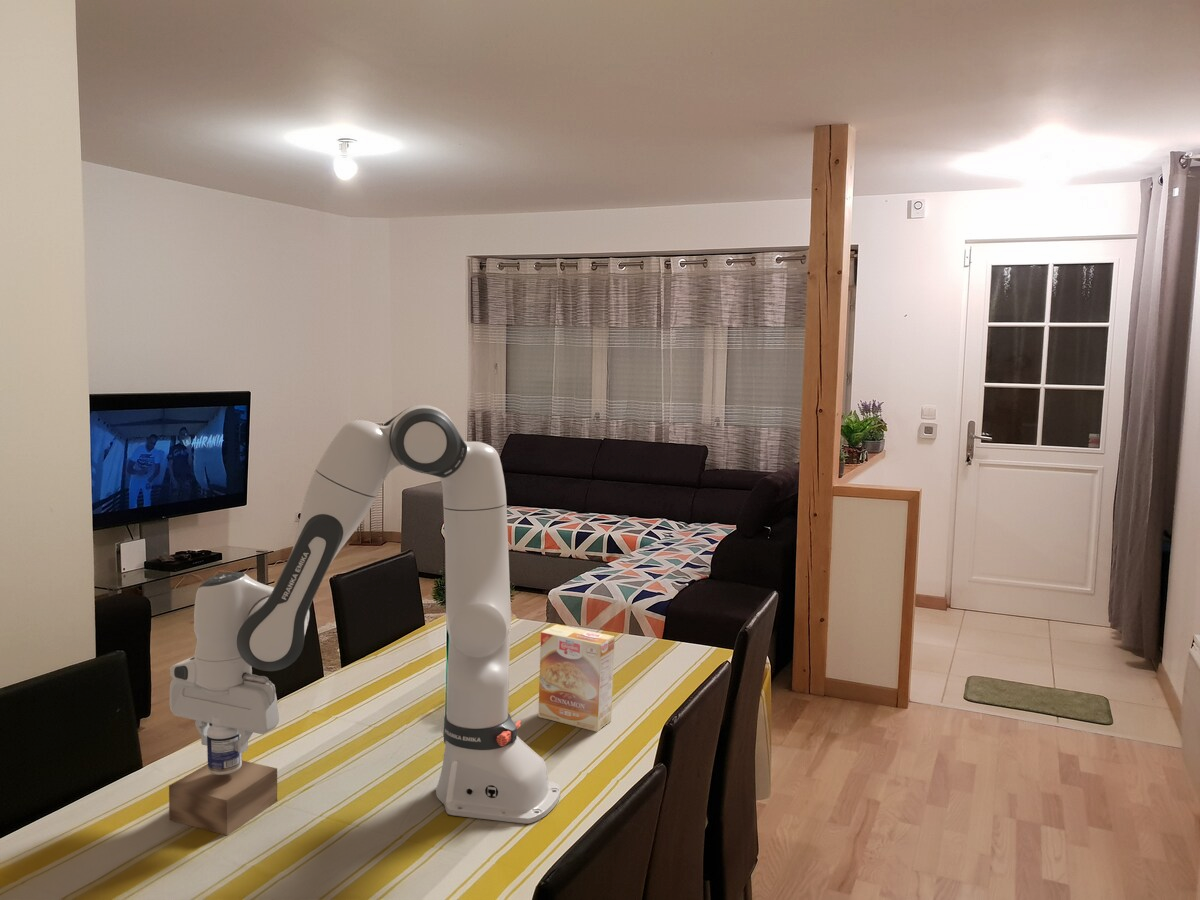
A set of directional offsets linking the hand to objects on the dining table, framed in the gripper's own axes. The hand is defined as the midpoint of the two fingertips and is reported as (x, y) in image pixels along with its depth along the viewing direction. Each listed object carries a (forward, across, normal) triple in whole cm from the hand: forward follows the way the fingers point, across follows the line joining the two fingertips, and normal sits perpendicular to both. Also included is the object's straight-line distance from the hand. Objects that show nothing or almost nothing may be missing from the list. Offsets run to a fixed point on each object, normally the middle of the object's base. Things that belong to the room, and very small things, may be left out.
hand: (224, 747), depth 149 cm
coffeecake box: (+12, -41, -60) cm, 73 cm away
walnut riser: (+11, 0, 0) cm, 11 cm away
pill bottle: (+4, 0, 0) cm, 4 cm away
